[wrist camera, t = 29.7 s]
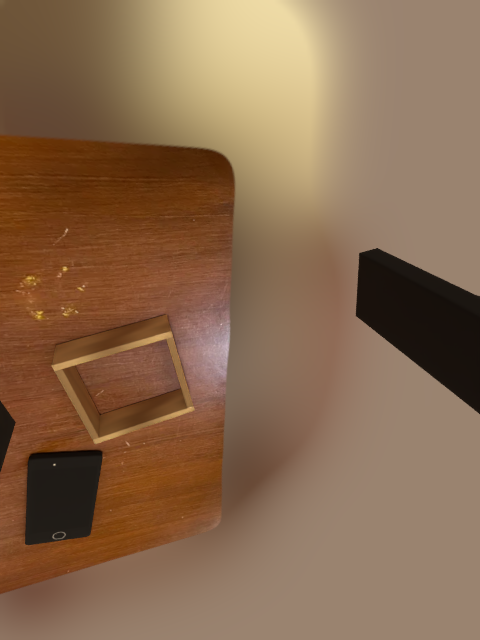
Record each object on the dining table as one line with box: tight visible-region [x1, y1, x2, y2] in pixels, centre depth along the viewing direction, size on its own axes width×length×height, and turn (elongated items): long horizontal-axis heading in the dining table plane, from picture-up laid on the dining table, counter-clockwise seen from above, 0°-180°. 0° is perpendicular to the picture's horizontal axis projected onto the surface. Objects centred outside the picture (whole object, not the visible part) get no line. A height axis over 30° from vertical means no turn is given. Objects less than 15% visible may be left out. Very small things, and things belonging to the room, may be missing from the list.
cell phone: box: [25, 451, 102, 545], centre depth 49 cm, size 9×18×1 cm, turn 163°
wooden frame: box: [51, 315, 194, 444], centre depth 42 cm, size 13×13×4 cm
